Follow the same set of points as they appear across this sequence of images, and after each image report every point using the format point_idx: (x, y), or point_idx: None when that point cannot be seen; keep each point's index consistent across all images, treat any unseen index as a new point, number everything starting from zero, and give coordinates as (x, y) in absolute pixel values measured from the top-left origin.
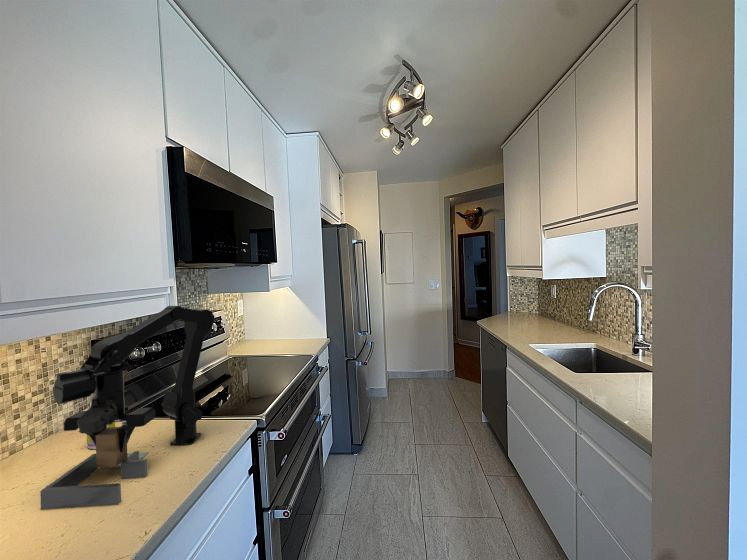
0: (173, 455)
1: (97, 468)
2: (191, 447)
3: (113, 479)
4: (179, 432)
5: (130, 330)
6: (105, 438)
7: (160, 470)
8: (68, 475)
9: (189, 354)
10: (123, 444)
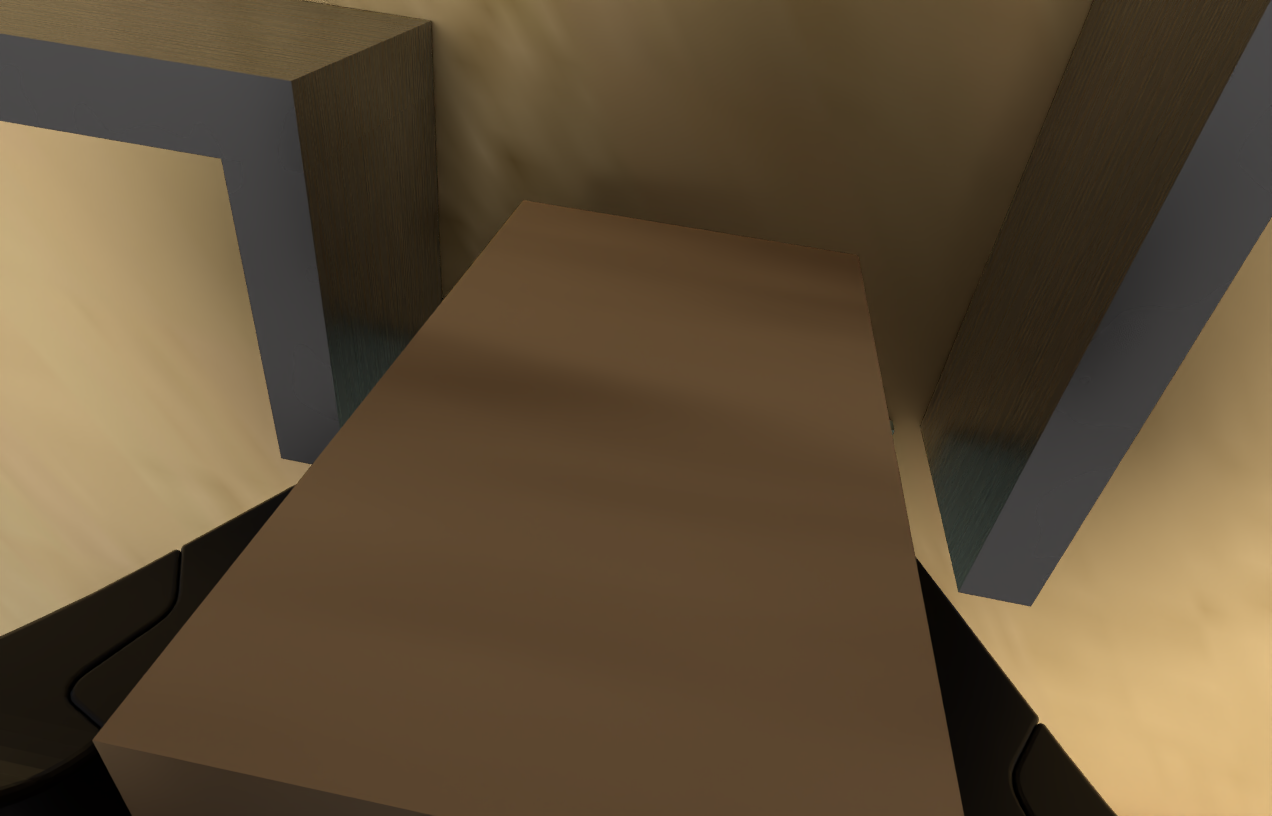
0: (153, 462)
1: (926, 422)
2: (87, 560)
3: (554, 48)
4: None
5: None
6: (569, 685)
7: (28, 139)
8: None
9: None
10: (285, 495)
